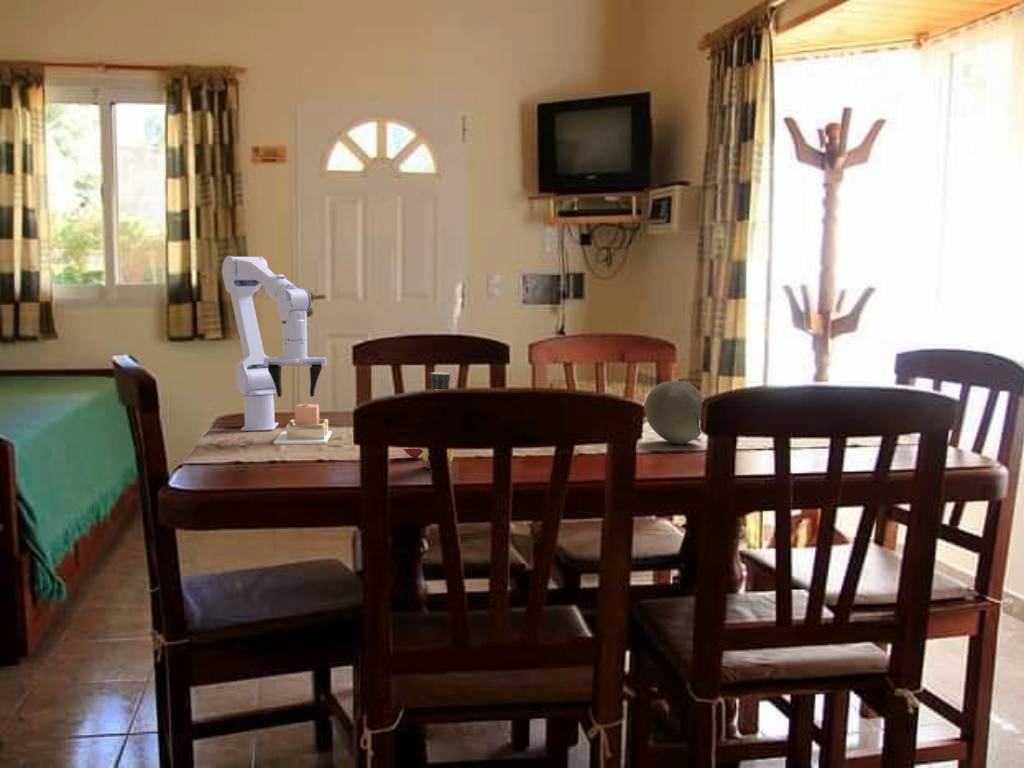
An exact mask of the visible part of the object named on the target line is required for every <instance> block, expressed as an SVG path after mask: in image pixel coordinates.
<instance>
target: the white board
mask: <svg viewBox="0 0 1024 768" xmlns="http://www.w3.org/2000/svg"><path fill="white" fill-rule="evenodd" d="M332 434H333V431H332V430H328V434H327V436H326V437H325V439H307V440H287V430H284V431H281V433H280V434H279V435H278V436H277V438H276V439H275V440H274V441H273V445H327V442H328V441H329V439H330V437H331V436H332Z"/></svg>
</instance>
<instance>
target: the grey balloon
mask: <svg viewBox="0 0 1024 768" xmlns="http://www.w3.org/2000/svg"><path fill="white" fill-rule="evenodd" d="M703 397H704V396H703V395H702V394H701V392H700V391H699V389H698V388H697V387H695V386H694V385H692V384H691V383H690V382H687V381H683V380H679V381H678V380H674V381H663V382H660V383H659V384H657V385H656V386H654V387H653V389H651V391H650V392H649V394H648V395H647V397H646V399H645V403H644V411H645V410H646V413H645V418H646V420H647V423H648V425H649V426H650V428H651V429H652V430H653V431H654V432H655V433H656V434H657V435H658V436H659V437H660V438H662V440H664V441H667V442H668V443H672V444H674V445H686V444H688V443H690V442H692V441H694V440H697V438H699V437H700V436H701V435H702V433H701V432H700V428H699V419H700V405H701V403H702V402H703V401H704V402H705V400H704V398H703Z"/></svg>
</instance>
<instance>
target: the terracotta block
mask: <svg viewBox="0 0 1024 768" xmlns="http://www.w3.org/2000/svg"><path fill="white" fill-rule="evenodd" d="M294 417H295V418H294V419H295V425H319V419H320V404H319V403H318V404H317V403H316V404H315V403H313V404H312V403H311V404H310V403H309V404H308V403H303V404H302V403H298V404H297V405H296V406H295V407H294Z"/></svg>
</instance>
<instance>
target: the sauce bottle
mask: <svg viewBox="0 0 1024 768" xmlns="http://www.w3.org/2000/svg"><path fill="white" fill-rule="evenodd" d="M429 378H430V383H431V385H430V391H431V390H433V389H449V390H450V380H451V373H450V372H444V371H443V372H442V371H434V372H430V377H429ZM453 451H454V449H453V450H449V452H448V453H449V461H450V468H451V467H452V465H453V464H452V463H453V459H454V457H453V456H454V452H453ZM422 460H423V461H422V466H423V468H424V467H426V468H425V469H427V468H428V467H429V464H428V453H427V450H425V449H423V453H422Z"/></svg>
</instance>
